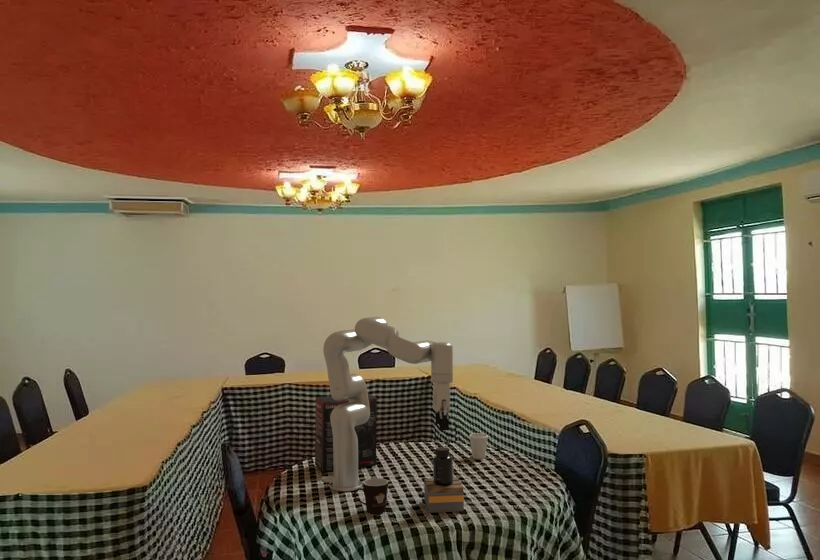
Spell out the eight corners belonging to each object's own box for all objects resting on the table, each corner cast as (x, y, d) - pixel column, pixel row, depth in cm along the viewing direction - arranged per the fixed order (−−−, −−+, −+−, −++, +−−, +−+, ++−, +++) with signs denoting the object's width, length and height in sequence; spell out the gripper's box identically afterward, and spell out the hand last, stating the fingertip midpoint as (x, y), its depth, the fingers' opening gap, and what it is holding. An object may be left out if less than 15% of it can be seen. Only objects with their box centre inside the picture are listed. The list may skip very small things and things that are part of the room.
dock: (429, 513, 215) (428, 494, 215) (424, 500, 228) (424, 482, 228) (464, 511, 216) (463, 492, 216) (457, 499, 229) (457, 481, 229)
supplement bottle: (441, 478, 227) (440, 445, 227) (456, 482, 223) (456, 448, 223) (429, 483, 222) (429, 449, 222) (445, 487, 217) (444, 452, 217)
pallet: (428, 493, 216) (428, 488, 216) (424, 482, 228) (424, 478, 228) (463, 491, 217) (463, 487, 217) (457, 481, 229) (457, 477, 229)
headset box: (367, 458, 285) (366, 384, 285) (378, 465, 273) (377, 388, 273) (314, 465, 274) (313, 389, 275) (323, 473, 263) (322, 393, 263)
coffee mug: (388, 506, 222) (388, 477, 222) (388, 515, 213) (388, 485, 214) (355, 507, 222) (354, 478, 222) (353, 516, 213) (353, 486, 213)
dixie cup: (491, 456, 286) (491, 434, 286) (483, 461, 279) (483, 438, 279) (474, 454, 290) (474, 432, 290) (466, 458, 283) (466, 435, 283)
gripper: (428, 374, 231) (428, 421, 231) (434, 382, 214) (434, 433, 214) (448, 374, 232) (448, 421, 232) (456, 381, 215) (456, 432, 214)
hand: (442, 426), depth 223 cm, fingers open, 9 cm apart
